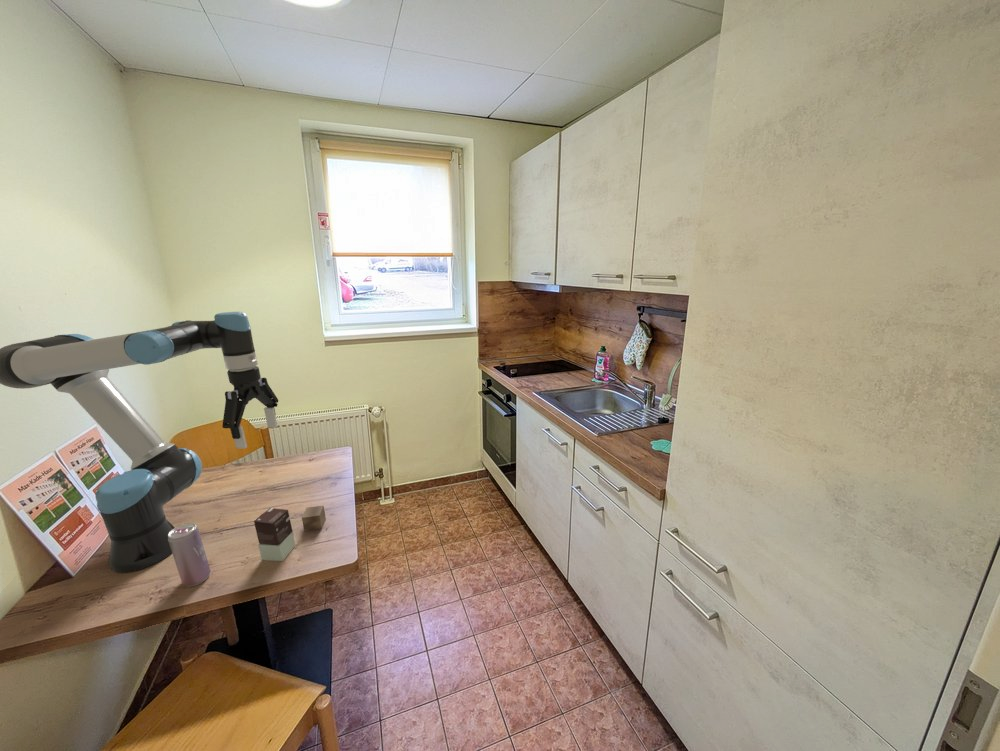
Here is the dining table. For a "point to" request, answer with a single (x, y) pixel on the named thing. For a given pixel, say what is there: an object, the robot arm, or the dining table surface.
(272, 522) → the box
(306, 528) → the walnut cube
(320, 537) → the dining table surface
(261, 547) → the base block
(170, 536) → the beverage can
